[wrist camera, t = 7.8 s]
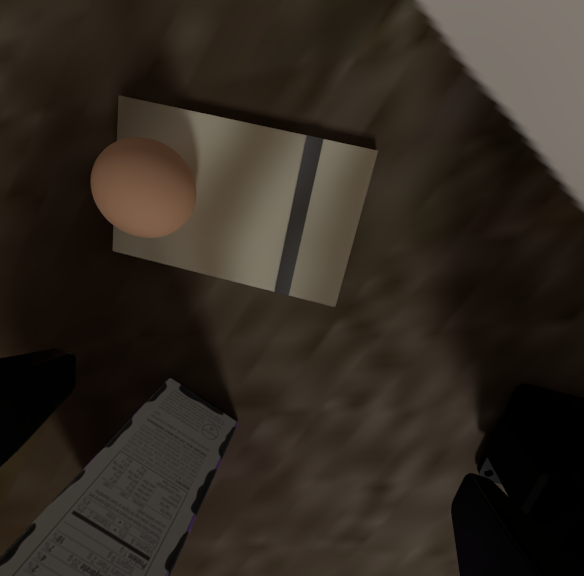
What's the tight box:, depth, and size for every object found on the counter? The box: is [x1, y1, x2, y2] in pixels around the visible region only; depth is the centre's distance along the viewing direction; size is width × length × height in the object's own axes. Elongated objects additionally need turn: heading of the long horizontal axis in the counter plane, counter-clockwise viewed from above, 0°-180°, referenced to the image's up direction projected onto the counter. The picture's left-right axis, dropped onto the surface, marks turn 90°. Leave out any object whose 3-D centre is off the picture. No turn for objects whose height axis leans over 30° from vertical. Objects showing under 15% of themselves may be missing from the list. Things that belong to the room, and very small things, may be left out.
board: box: [113, 95, 378, 307], centre depth 17 cm, size 13×8×1 cm, turn 78°
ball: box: [91, 137, 196, 238], centre depth 15 cm, size 4×4×4 cm
